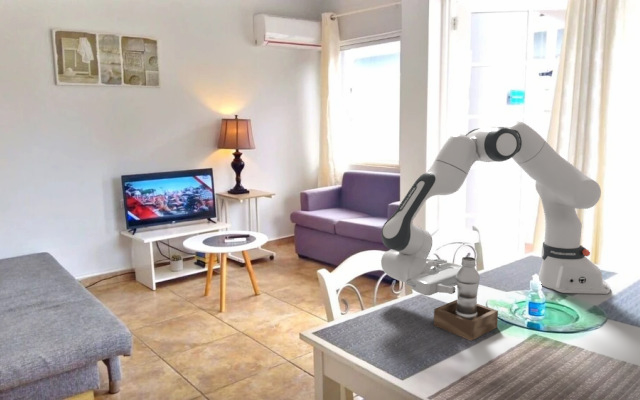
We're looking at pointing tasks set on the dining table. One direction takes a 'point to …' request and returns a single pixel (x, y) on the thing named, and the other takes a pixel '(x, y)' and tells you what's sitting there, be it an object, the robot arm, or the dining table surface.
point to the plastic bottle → (467, 289)
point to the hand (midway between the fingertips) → (464, 286)
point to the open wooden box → (465, 321)
